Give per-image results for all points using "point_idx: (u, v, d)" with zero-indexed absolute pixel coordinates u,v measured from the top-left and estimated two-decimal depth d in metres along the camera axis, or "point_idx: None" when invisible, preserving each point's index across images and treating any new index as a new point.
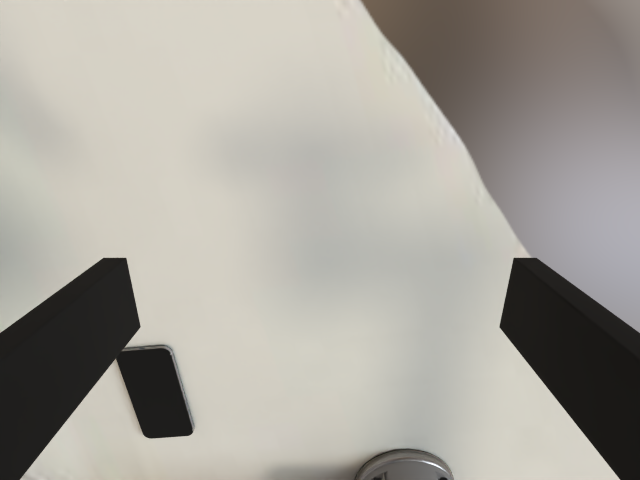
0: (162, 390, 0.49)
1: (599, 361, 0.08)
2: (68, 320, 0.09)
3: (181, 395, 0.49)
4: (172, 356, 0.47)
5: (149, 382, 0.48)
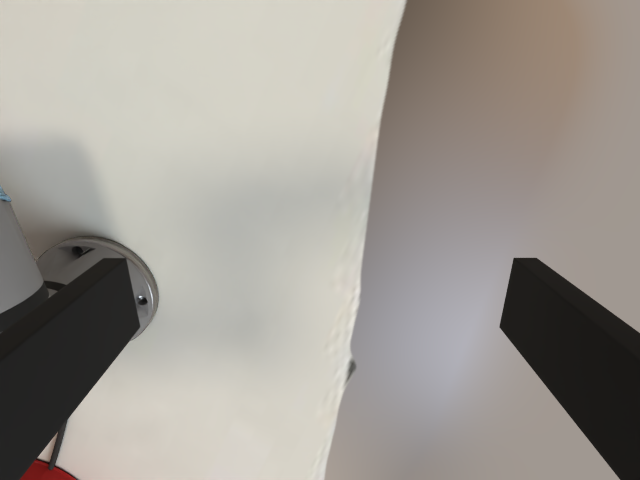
0: None
1: (599, 361, 0.08)
2: (68, 320, 0.09)
3: None
4: None
5: None
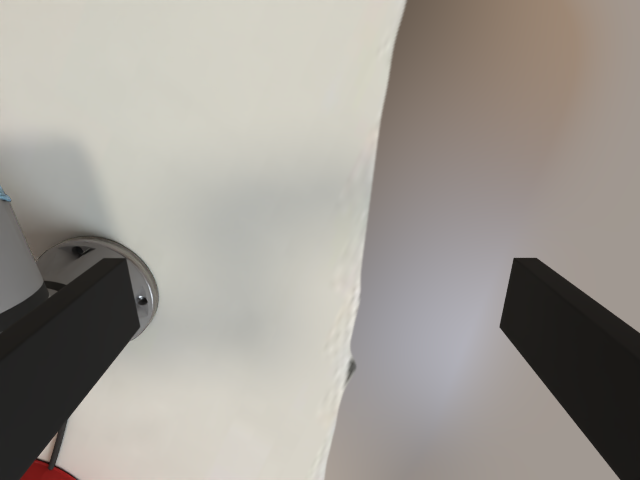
0: None
1: (599, 361, 0.08)
2: (68, 320, 0.09)
3: None
4: None
5: None
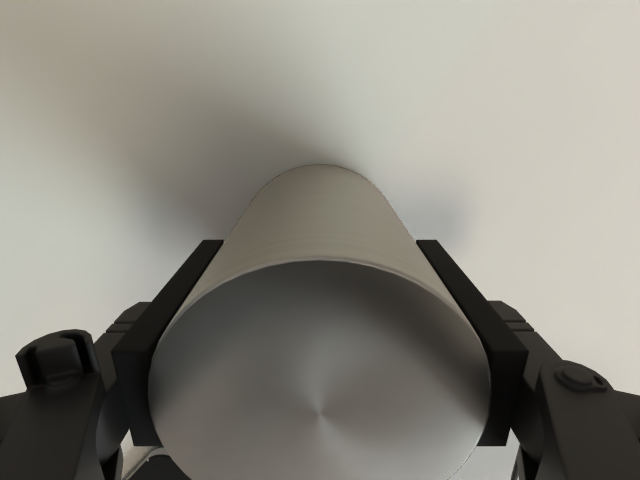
0: None
1: None
2: None
3: None
4: None
5: None
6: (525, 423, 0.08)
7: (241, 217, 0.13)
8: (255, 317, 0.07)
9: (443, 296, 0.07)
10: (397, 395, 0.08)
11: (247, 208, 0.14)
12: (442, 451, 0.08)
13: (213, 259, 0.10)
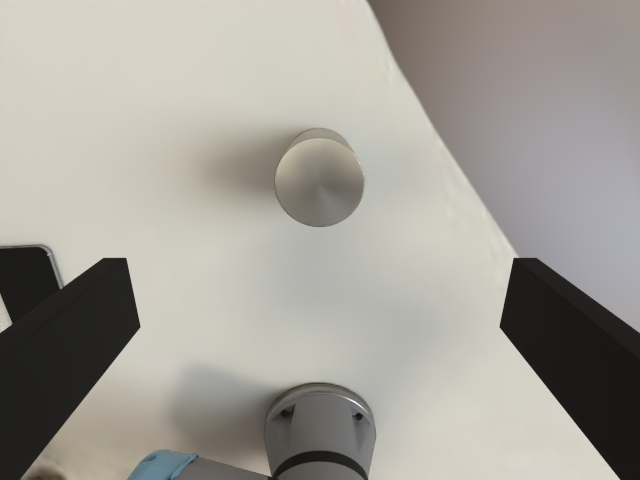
0: (41, 299, 0.43)
1: (599, 361, 0.08)
2: (68, 320, 0.09)
3: None
4: (50, 258, 0.42)
5: (26, 289, 0.43)
6: None
7: None
8: (303, 154, 0.28)
9: (349, 148, 0.28)
10: (339, 178, 0.29)
11: None
12: (353, 197, 0.29)
13: (286, 150, 0.31)
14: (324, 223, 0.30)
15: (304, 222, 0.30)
